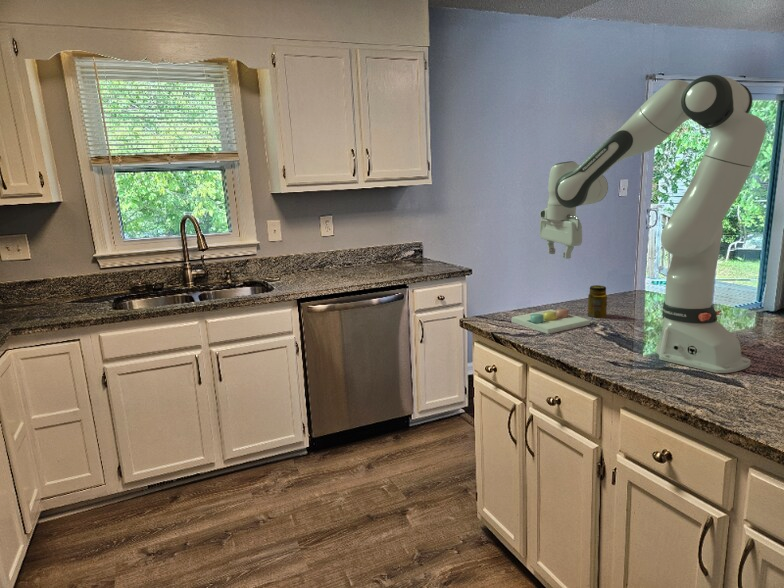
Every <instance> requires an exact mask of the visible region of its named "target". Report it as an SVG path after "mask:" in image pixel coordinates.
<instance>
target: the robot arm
mask: <svg viewBox="0 0 784 588" xmlns="http://www.w3.org/2000/svg"><path fill="white" fill-rule="evenodd" d="M752 107H753V95H752V92H751V90H749V88H748V87H747V86H746V85H744V84H743V83H740V82H739V81H737V80H735V79H733V78H731V77H727V76H722V75H719V74H709V75H707V74H706V75H703V76H700V77H698V78H696V79H695V80H693V81H691V82H689V81H685V80H681V79H674V80H670V81H669V82H667V83H665V84H664V85H663V86H661V88H660V89H658V90H656V92H655V93H653V94H652V95H651V96H650V97H649V98H648V99H647V100H646V101H644V103H642V104H641V106H640V107H639V108H638V109H637V110H636V111H635V112H634V113H633V114H632V115H631V116H630V117H629V119H627V120H626V121H625V122H624V123H623V125H621V127H620V128H618V130H617V131H615V132H614V134H612V136H610V137H609V138H608V139H607V140H605V142H603V143H602V144H601V145H600V146H599V147H598V148H597V149H596V150H595V151H593V153H591V154H590V156H588V157H587V158H586V159H585V160H584V161H583V162H582V163H581V164H580V165H579V164H578V163H577V162H576V161H570V160H569V161H562V162H558V163H556V164H553V165H552V167H550V171H549V175H548V183H547V185H548V186H547V192H548V201H547V205H546V208H544V209H542V210H540V211H539V218H540V221H539V235H540V238H541V239H543V240H545V241H546V245H547V250H548V251H547V252H548V254H549V255H555V254H556V248H555V244H554V243H559V244H562V245H565V251H564V252H563V258H564V259H571V257H572V253H573V250H574V247H577V246H578V247H579V246H581V244H582V242H583V227H582V223H581V220H580V218H579V216H577V214H576V213H577V212H576V211H577V207H580V206H586V205H587V206H588V205H591V204H592V205H593V204H596V203H599V202H600V201H603V200H604V198H605V197H606V196H607V193H608V191H609V184H608V181H607V178H606V177H605V176H604V175H605V173H606V172H608V171H609V170H610V169H611V168H612V167H613V166H614V165H616V164H617V163H619V162H621V161H623V160H624V159H628V158H630V157H633V156H635V155H640V154H644V153H647V152H649V151H652V150H653V149H654V148H656V147H658V146H659V145H660V144H662V143H663V142H664V141H665V140H667V138H669V137H670V136H671V135H672V134H673V132H675V131H676V130H677V129H678V128H679V127H680V126H681V125H682V124H684V122H686V121H688V120H692V121H693V122H694V123H696V124H698V125H700V126H701V127H702V128H704V129H707V130H710V132H711V136H710V140H709V143H708V145H707V147H706V149H705V151H704V154H703V156H702V158H701V160H700V162H699V165H698V167H697V169H696V171H695V173H694V175H693V178H692V180H691V181H690V184H689V186H688V187H687V189H686V190H685V192H684V194H683V195H682V197H681V198H680V200H679V202H678V204H677V205H676V207H675V209H674V210H673V212H672V213H671V216H670V218H668V222H667V223H666V224H665V225H664V227H663V229H662V231H661V234H660V242H661V244H662V247H663V248H664V249H665V251H667V252H668V253H669V254H671V255H672V256H671V260H670V265H669V267H668V270H667V273H666V278H665V279H666V281H665V282H666V283H665V297H664V302H663V304H662V314H661V315H662V319H663V320H662V321H663V322H662V326H661V327H662V328H661V333H660V336H659V339H658V342H657V345H656V348H655V351H654V352H655V353H656V354H657V355H658V360H661V361H665V362H668V363H669V362H670V363H672V364H678V365H680V366H686V367H690V368H695V369H698V370H702V371H707V372H711V373H716V374H728V373H736V372H738V371H739V372H740V371H743V370H745V369H748V368H749V367H750V366H751V364H752V361H751V359H750V358H748V357H745V356H742V349H741V347H742V346H741V343H740V340H739V339H738V338H737V337H736V336H735V335H734V334H732V332H730V331H729V330H728V329H727V328H726V327H725V326H723V324H721V322H719V321H718V317H717V316H720V315H722V313H721V312H722V310H717V311H716V310H715V307H714V305H713V295H714V283H715V273H716V270H717V266H718V265H717V264H718V260H719V255H720V251H721V244H722V238H723V232H724V225H723V220H724V218H725V217H726V215H727V213H728V212H729V210H730V209H731V208H732V206H733V204H734V203H735V201H736V200H737V199H738V197H739V194H740V193H741V191H742V189H743V187H744V185H745V183H746V181H747V179H748V177H749V175H750V173H751V171H752V169H753V167H754V165H755V164H756V161H757V159H758V156H759V153H760V151H761V148H762V146H763V142H764V139H765V136H766V132H767V125H766V122H765V121H764V120H763V119H762V118H760V117H759V116H757V115H754V114H751V113H750V112H751V109H752Z"/></svg>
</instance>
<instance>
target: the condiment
mask: <svg viewBox="0 0 784 588" xmlns="http://www.w3.org/2000/svg"><path fill="white" fill-rule="evenodd" d="M587 297H588V300H587V303H588V304H587V316H588V317H589V318H592V319H605V318H606V317H607V305H608V304H607V303H608V296H607V287H606V286H605V285H590V286H589V294H588V295H587Z"/></svg>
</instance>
